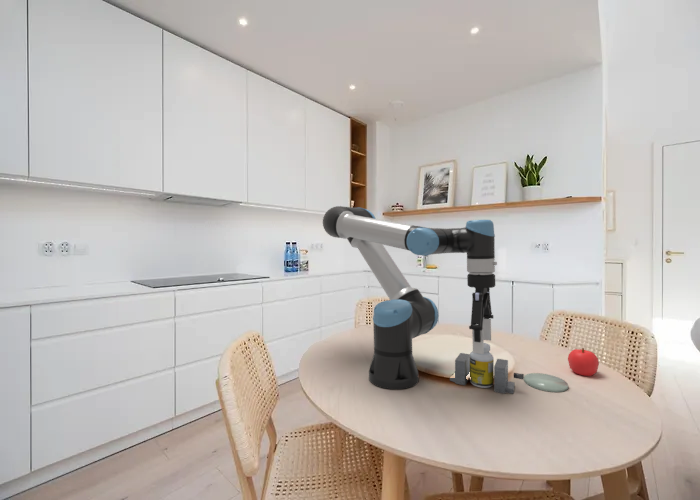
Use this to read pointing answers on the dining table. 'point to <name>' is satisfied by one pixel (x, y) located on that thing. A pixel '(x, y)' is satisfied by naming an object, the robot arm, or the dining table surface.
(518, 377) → the vise
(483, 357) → the pill bottle
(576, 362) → the apple
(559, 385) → the pale green round disc
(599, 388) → the dining table surface
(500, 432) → the dining table surface
